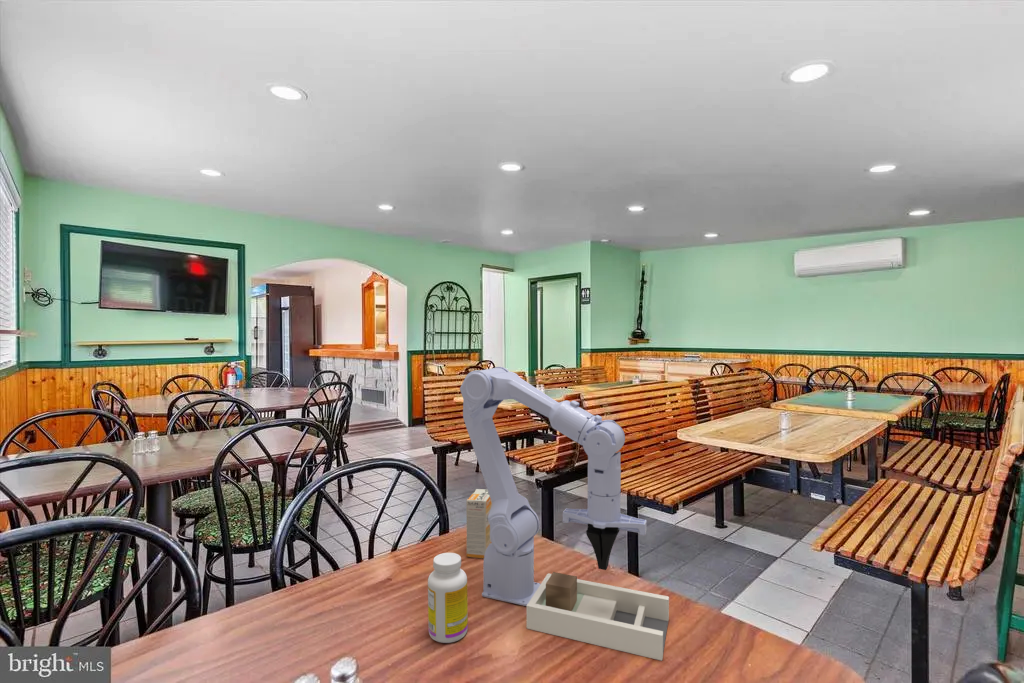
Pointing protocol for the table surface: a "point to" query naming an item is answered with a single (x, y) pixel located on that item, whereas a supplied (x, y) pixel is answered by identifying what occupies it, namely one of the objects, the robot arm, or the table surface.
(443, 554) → the supplement bottle
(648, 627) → the track
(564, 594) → the walnut block
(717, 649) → the table surface
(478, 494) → the supplement box
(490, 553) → the robot arm
